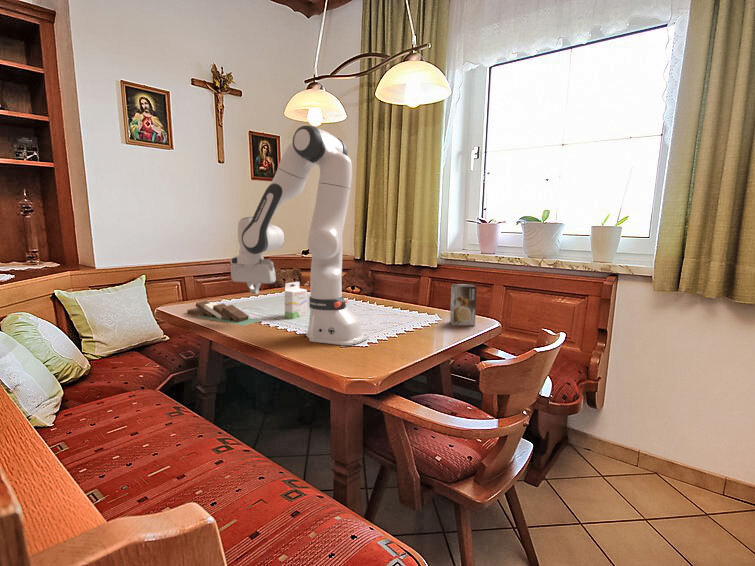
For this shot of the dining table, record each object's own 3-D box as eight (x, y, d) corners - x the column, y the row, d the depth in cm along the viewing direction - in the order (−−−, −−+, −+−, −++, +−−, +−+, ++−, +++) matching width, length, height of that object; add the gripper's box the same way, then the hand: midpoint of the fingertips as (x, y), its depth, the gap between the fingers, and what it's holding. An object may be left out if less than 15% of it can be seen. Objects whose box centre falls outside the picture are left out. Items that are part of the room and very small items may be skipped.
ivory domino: (230, 312, 167) (214, 302, 170) (221, 315, 162) (204, 304, 166) (230, 316, 167) (213, 305, 171) (220, 319, 163) (204, 308, 166)
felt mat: (262, 320, 163) (262, 320, 163) (244, 326, 154) (243, 325, 154) (215, 312, 175) (215, 312, 175) (195, 317, 166) (195, 316, 166)
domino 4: (248, 315, 162) (231, 304, 166) (239, 318, 158) (222, 306, 161) (247, 319, 163) (230, 308, 166) (238, 322, 158) (221, 310, 162)
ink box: (292, 319, 165) (291, 284, 163) (284, 317, 168) (283, 283, 165) (307, 316, 172) (307, 282, 169) (300, 314, 175) (299, 281, 172)
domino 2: (221, 311, 169) (206, 300, 172) (212, 313, 165) (196, 302, 168) (220, 315, 169) (205, 304, 173) (211, 317, 165) (195, 306, 169)
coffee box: (471, 321, 167) (473, 283, 164) (475, 325, 160) (477, 286, 158) (449, 321, 166) (451, 283, 164) (452, 325, 160) (454, 286, 157)
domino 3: (239, 314, 164) (223, 303, 168) (230, 316, 160) (213, 305, 164) (238, 318, 165) (222, 307, 169) (229, 320, 161) (212, 309, 164)
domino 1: (213, 309, 171) (197, 307, 176) (203, 311, 167) (187, 310, 171) (213, 313, 171) (197, 311, 176) (203, 316, 167) (187, 314, 172)
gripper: (278, 258, 154) (280, 293, 157) (238, 257, 163) (241, 290, 166) (267, 260, 149) (269, 296, 151) (226, 259, 158) (230, 293, 160)
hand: (254, 293), depth 158 cm, fingers closed
